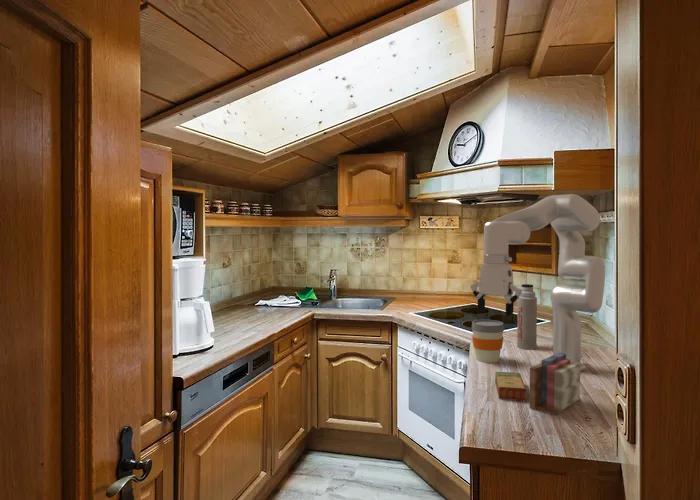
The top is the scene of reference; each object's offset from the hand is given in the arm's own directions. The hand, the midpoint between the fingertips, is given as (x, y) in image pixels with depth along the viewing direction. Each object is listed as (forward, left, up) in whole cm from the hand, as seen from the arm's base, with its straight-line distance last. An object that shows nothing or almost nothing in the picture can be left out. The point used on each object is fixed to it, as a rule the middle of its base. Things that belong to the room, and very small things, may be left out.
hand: (494, 313), depth 143 cm
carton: (-5, +3, -26) cm, 27 cm away
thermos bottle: (-59, -19, -26) cm, 67 cm away
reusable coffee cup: (-30, -21, -26) cm, 45 cm away
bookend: (-5, +18, -26) cm, 32 cm away
